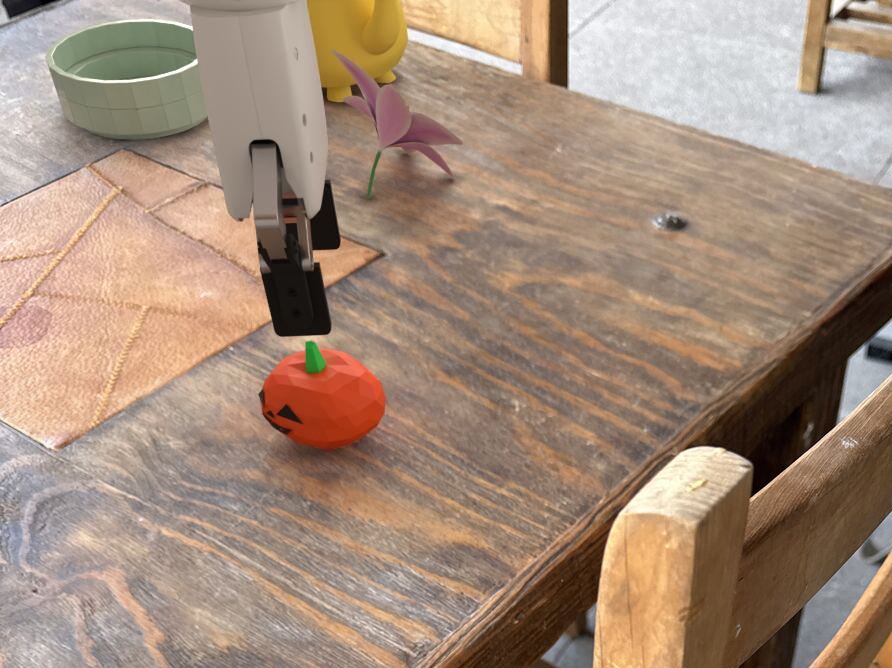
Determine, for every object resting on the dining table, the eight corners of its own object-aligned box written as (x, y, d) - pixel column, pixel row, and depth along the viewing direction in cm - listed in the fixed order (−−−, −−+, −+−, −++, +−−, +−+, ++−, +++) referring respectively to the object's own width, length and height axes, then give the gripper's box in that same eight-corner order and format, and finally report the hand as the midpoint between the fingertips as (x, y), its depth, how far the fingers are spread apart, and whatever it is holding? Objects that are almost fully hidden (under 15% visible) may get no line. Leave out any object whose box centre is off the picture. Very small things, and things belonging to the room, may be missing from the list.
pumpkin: (370, 475, 75) (355, 386, 69) (254, 455, 76) (231, 366, 70) (406, 412, 79) (395, 324, 74) (297, 394, 80) (278, 306, 75)
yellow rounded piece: (266, 116, 107) (236, -36, 97) (272, 54, 115) (245, -91, 106) (417, 110, 108) (402, -40, 98) (412, 49, 116) (398, -95, 107)
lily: (470, 227, 97) (494, 98, 93) (333, 188, 91) (352, 49, 87) (424, 212, 106) (444, 93, 102) (296, 176, 100) (312, 49, 96)
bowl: (51, 146, 102) (30, 84, 98) (81, 79, 111) (63, 20, 107) (214, 143, 103) (200, 81, 99) (232, 77, 111) (219, 18, 108)
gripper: (186, -107, 61) (260, 221, 74) (132, 18, 50) (230, 373, 64) (330, -110, 61) (378, 217, 75) (306, 13, 51) (367, 367, 64)
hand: (310, 288), depth 69 cm, fingers open, 9 cm apart
